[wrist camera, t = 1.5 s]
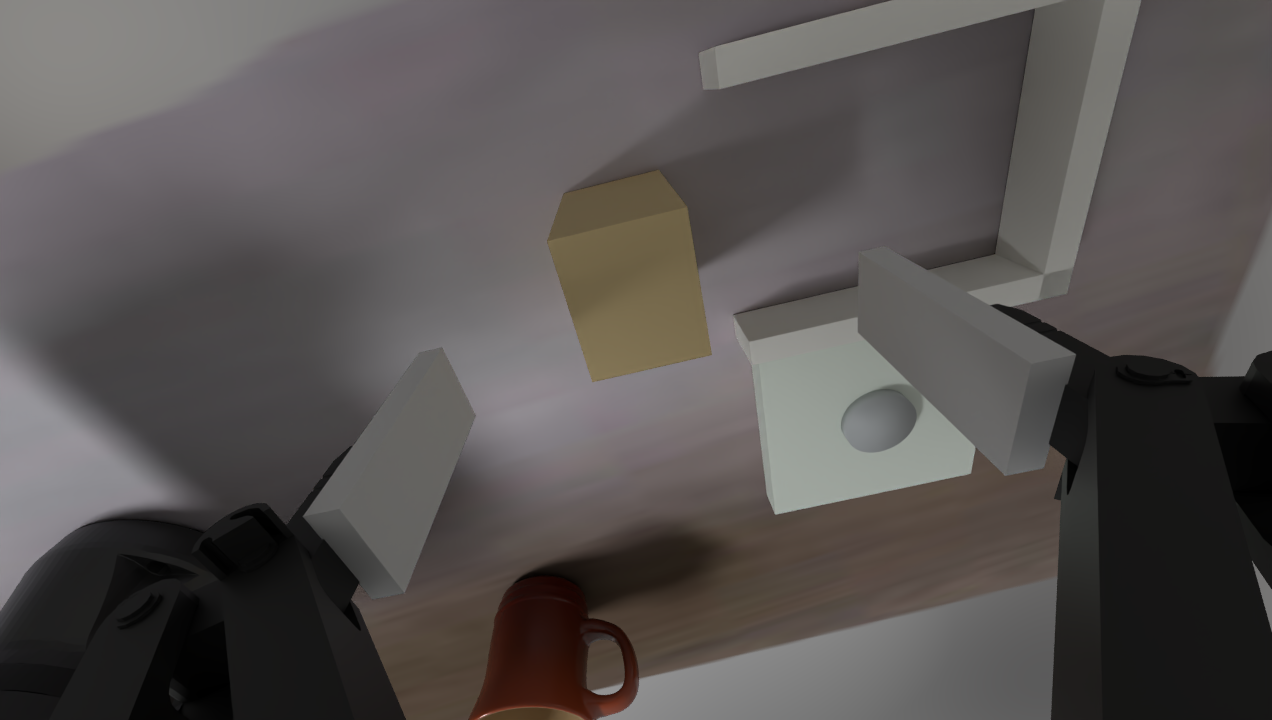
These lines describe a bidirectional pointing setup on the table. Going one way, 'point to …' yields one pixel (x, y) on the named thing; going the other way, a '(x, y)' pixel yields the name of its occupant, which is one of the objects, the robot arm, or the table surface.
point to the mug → (549, 656)
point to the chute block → (630, 275)
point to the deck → (1016, 274)
